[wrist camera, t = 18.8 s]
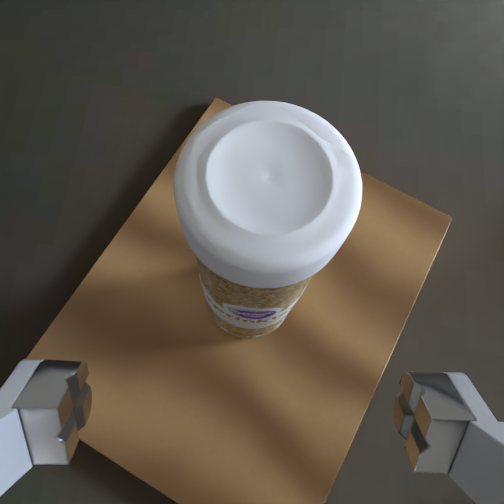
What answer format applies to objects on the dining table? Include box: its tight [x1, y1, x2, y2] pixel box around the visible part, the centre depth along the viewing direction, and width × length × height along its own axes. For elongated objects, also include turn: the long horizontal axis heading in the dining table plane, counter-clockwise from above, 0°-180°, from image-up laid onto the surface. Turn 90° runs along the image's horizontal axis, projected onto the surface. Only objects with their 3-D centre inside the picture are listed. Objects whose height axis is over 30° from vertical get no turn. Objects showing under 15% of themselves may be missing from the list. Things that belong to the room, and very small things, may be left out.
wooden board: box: [26, 97, 452, 504], centre depth 23 cm, size 20×16×1 cm
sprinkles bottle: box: [174, 101, 362, 339], centre depth 16 cm, size 5×5×14 cm
